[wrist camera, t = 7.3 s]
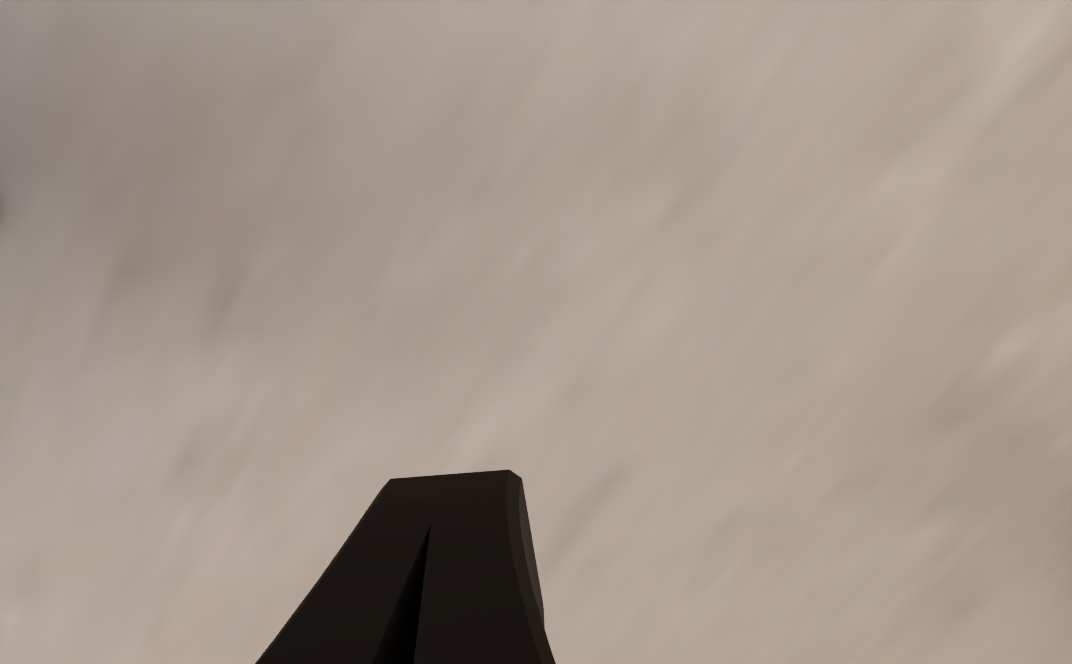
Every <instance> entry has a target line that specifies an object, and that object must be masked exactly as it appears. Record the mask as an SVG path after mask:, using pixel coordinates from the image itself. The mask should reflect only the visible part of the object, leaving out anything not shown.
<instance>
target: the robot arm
mask: <svg viewBox="0 0 1072 664" xmlns="http://www.w3.org/2000/svg"><path fill="white" fill-rule="evenodd" d="M255 664H555V661H554V658H553V655H552V652H551V649H550V646H549V643H548V640H547V636H546V633H545V629H544V608H543V601H542V595H541V589H540V583H539V577H538V571H537V565H536V560H535V554H534V548H533V542H532V536H531V530H530V524H529V518H528V512H527V506H526V500H525V495H524V489H523V483H522V478H521V477H519V476H518V475H516V474H515V473H513V472H512V471H511V470H499V471H486V472H473V473H460V474H447V475H434V476H422V477H409V478H396V479H390V480H389V481H388V482H387V483H386V485H385V486H384V487H383V488H382V489H381V491H380V492H379V493H378V495H377V496H376V498H375V499H374V501H373V502H372V504H371V505H370V507H369V508H368V509H367V511H366V512H365V514H364V515H363V517H362V518H361V520H360V521H359V523H358V524H357V526H356V527H355V528H354V530H353V531H352V533H351V534H350V536H349V537H348V539H347V540H346V542H345V543H344V544H343V546H342V547H341V549H340V550H339V552H338V553H337V554H336V556H335V557H334V559H333V560H332V561H331V563H330V564H329V566H328V567H327V569H326V570H325V571H324V573H323V574H322V576H321V577H320V578H319V580H318V581H317V583H316V584H315V585H314V587H313V588H312V589H311V591H310V592H309V593H308V595H307V596H306V597H305V599H304V600H303V601H302V603H301V604H300V605H299V607H298V608H297V609H296V611H295V612H294V613H293V615H292V616H291V617H290V619H289V620H288V621H287V623H286V624H285V625H284V627H283V628H282V629H281V631H280V632H279V634H278V635H277V636H276V638H275V639H274V640H273V642H272V643H271V644H270V645H269V647H268V648H267V649H266V651H265V652H264V653H263V654H262V656H261V657H260V658H259V659H258V661H257V662H256V663H255Z"/></svg>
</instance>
